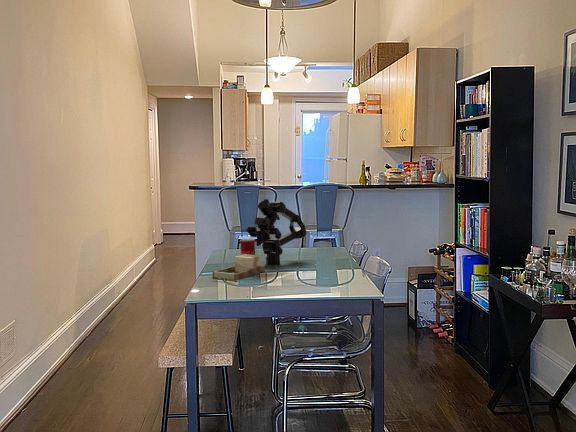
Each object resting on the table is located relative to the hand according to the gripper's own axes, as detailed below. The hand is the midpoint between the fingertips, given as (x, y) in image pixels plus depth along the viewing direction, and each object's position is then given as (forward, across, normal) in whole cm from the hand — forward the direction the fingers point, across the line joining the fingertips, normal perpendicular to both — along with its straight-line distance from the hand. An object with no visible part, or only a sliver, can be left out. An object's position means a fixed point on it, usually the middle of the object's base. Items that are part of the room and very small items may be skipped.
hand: (257, 245), depth 284 cm
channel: (+20, 0, -2) cm, 20 cm away
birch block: (+14, 0, +3) cm, 14 cm away
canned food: (-9, -26, +27) cm, 38 cm away
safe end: (+24, 0, -6) cm, 25 cm away
